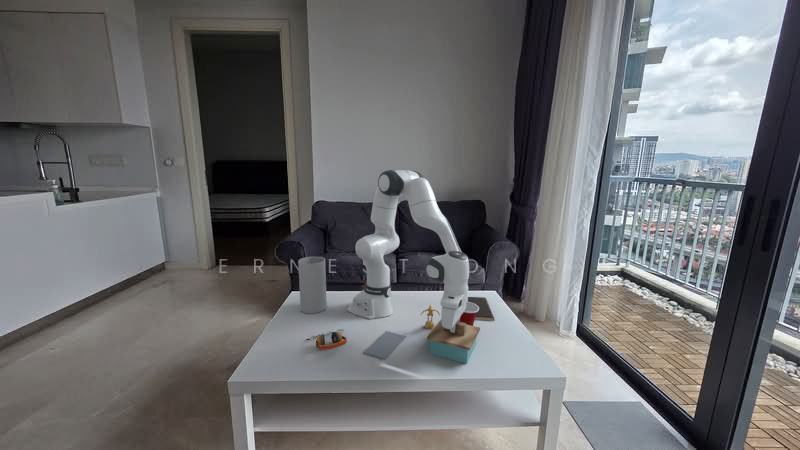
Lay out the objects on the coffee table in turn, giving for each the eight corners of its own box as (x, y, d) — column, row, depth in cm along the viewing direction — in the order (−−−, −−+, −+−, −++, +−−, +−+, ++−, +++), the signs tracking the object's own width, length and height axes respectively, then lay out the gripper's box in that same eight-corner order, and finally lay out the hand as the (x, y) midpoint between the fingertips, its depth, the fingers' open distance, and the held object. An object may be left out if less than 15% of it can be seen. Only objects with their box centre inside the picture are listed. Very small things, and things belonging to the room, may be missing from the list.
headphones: (341, 322, 141) (356, 333, 123) (343, 334, 141) (357, 347, 123) (302, 331, 134) (311, 344, 116) (303, 344, 133) (312, 359, 115)
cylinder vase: (327, 302, 167) (326, 256, 163) (325, 313, 155) (323, 263, 151) (302, 304, 166) (300, 256, 161) (298, 315, 154) (296, 264, 149)
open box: (429, 355, 121) (430, 338, 120) (442, 338, 134) (442, 322, 132) (466, 366, 115) (467, 348, 114) (475, 346, 128) (476, 330, 126)
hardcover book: (459, 320, 151) (459, 315, 151) (455, 300, 174) (455, 296, 173) (494, 321, 150) (494, 317, 149) (486, 301, 172) (486, 297, 172)
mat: (363, 353, 122) (363, 352, 122) (386, 332, 138) (386, 330, 138) (411, 368, 114) (411, 366, 114) (430, 343, 130) (430, 342, 130)
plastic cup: (478, 339, 133) (479, 312, 131) (451, 336, 135) (452, 309, 133) (477, 326, 144) (478, 301, 142) (452, 324, 146) (453, 299, 144)
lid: (426, 339, 120) (427, 326, 119) (441, 321, 134) (441, 309, 133) (469, 350, 113) (470, 337, 112) (479, 329, 127) (480, 318, 126)
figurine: (438, 326, 143) (439, 301, 141) (440, 333, 137) (441, 307, 135) (419, 326, 143) (420, 301, 141) (420, 333, 137) (421, 307, 135)
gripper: (455, 284, 131) (454, 316, 133) (438, 303, 113) (437, 339, 115) (471, 287, 128) (469, 319, 131) (456, 306, 110) (454, 344, 113)
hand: (454, 329), depth 123 cm, fingers closed on lid, 2 cm apart
